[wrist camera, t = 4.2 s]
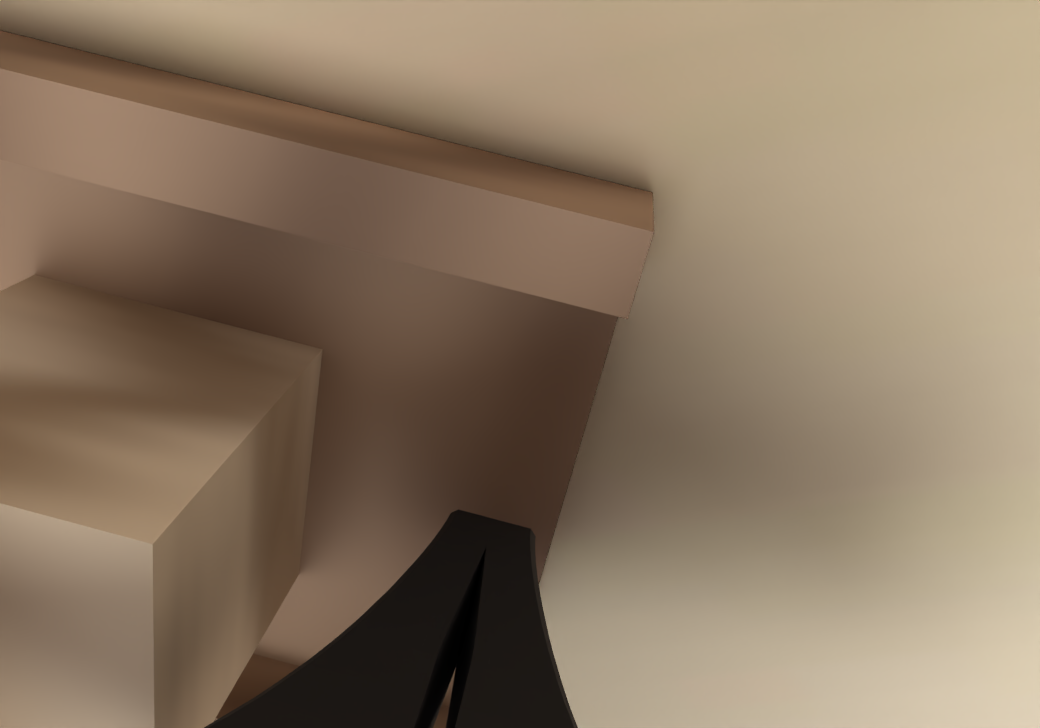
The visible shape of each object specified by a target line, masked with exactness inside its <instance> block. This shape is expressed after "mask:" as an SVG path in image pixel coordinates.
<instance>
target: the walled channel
mask: <svg viewBox="0 0 1040 728" xmlns="http://www.w3.org/2000/svg"><path fill="white" fill-rule="evenodd" d="M653 234H654V216H653V193H652V192H648V191H644V190H640V189H636V188H632V187H628V186H624V185H620V184H616V183H612V182H608V181H604V180H600V179H596V178H592V177H588V176H584V175H580V174H576V173H572V172H568V171H564V170H560V169H556V168H552V167H548V166H543V165H539V164H535V163H531V162H527V161H523V160H519V159H515V158H511V157H507V156H503V155H499V154H495V153H491V152H487V151H483V150H479V149H475V148H471V147H467V146H463V145H459V144H455V143H451V142H447V141H443V140H439V139H435V138H431V137H427V136H423V135H419V134H415V133H411V132H407V131H403V130H399V129H395V128H391V127H387V126H383V125H379V124H375V123H370V122H366V121H362V120H358V119H354V118H350V117H346V116H342V115H338V114H334V113H330V112H326V111H322V110H318V109H314V108H310V107H306V106H302V105H298V104H294V103H290V102H286V101H282V100H278V99H274V98H270V97H266V96H262V95H258V94H254V93H250V92H246V91H242V90H238V89H234V88H230V87H226V86H222V85H218V84H214V83H210V82H206V81H201V80H197V79H193V78H189V77H185V76H181V75H177V74H173V73H169V72H165V71H161V70H157V69H153V68H149V67H145V66H141V65H137V64H133V63H129V62H125V61H121V60H117V59H113V58H109V57H105V56H101V55H97V54H93V53H89V52H85V51H81V50H77V49H73V48H69V47H65V46H61V45H57V44H53V43H49V42H45V41H41V40H37V39H33V38H28V37H24V36H20V35H16V34H12V33H8V32H4V31H0V291H2V290H4V289H6V288H8V287H10V286H12V285H14V284H16V283H18V282H20V281H23V280H25V279H27V278H29V277H31V276H33V275H37V276H41V277H45V278H49V279H53V280H56V281H60V282H64V283H68V284H72V285H76V286H80V287H83V288H87V289H91V290H95V291H99V292H103V293H107V294H111V295H114V296H118V297H122V298H126V299H130V300H134V301H138V302H141V303H145V304H149V305H153V306H157V307H161V308H165V309H168V310H172V311H176V312H180V313H184V314H188V315H192V316H196V317H199V318H203V319H207V320H211V321H215V322H219V323H223V324H226V325H230V326H234V327H238V328H242V329H246V330H250V331H254V332H257V333H261V334H265V335H269V336H273V337H277V338H281V339H284V340H288V341H292V342H296V343H300V344H304V345H308V346H311V347H315V348H319V349H322V359H321V369H320V378H319V388H318V397H317V407H316V416H315V426H314V435H313V445H312V454H311V464H310V473H309V483H308V492H307V502H306V512H305V521H304V531H303V540H302V550H301V559H300V569H299V575H298V577H297V579H296V580H295V582H294V584H293V586H292V587H291V589H290V591H289V593H288V594H287V596H286V598H285V599H284V601H283V603H282V605H281V606H280V608H279V610H278V611H277V613H276V615H275V617H274V618H273V620H272V622H271V623H270V625H269V627H268V629H267V630H266V632H265V634H264V636H263V637H262V639H261V641H260V642H259V644H258V646H257V648H256V649H255V651H254V653H253V654H252V656H251V658H250V660H249V661H248V663H247V665H246V666H245V668H244V670H243V672H242V673H241V675H240V677H239V678H238V680H237V682H236V684H235V685H234V687H233V689H232V691H231V692H230V694H229V696H228V697H227V699H226V701H225V703H224V704H223V706H222V708H221V709H220V711H219V713H218V715H217V716H216V718H215V720H214V721H216V720H217V719H219V718H221V717H222V716H224V715H226V714H227V713H229V712H231V711H232V710H234V709H236V708H237V707H239V706H241V705H242V704H244V703H246V702H247V701H249V700H251V699H253V698H254V697H256V696H257V695H259V694H260V693H262V692H263V691H265V690H266V689H268V688H269V687H271V686H272V685H274V684H275V683H277V682H278V681H280V680H281V679H282V678H284V677H285V676H287V675H288V674H289V673H291V672H292V671H293V670H295V669H296V668H298V667H299V666H300V665H302V664H303V663H305V662H306V661H307V660H309V659H310V658H311V657H313V656H314V655H315V654H317V653H318V652H319V651H320V650H322V649H323V648H324V647H325V646H327V645H328V644H329V643H330V642H332V641H333V640H334V639H335V638H337V637H338V636H339V635H340V634H341V633H342V632H344V631H345V630H346V629H347V628H348V627H349V626H351V625H352V624H353V623H354V622H355V621H356V620H357V619H358V618H360V617H361V616H362V615H363V614H364V613H365V612H366V611H367V610H368V609H369V608H370V607H371V606H372V605H373V604H374V603H375V602H376V601H377V600H378V599H380V598H381V597H382V596H383V595H384V594H385V593H386V592H387V591H388V590H389V589H390V588H391V587H392V586H393V585H394V584H395V583H396V581H397V580H398V579H399V578H400V577H401V576H402V575H403V574H404V573H405V572H406V571H407V569H408V568H409V567H410V566H411V565H412V564H413V563H414V562H415V561H416V560H417V559H418V557H419V556H420V555H421V554H422V552H423V551H424V550H425V549H426V548H427V546H428V545H429V544H430V543H431V541H432V540H433V539H434V538H435V536H436V535H437V533H438V532H439V531H440V529H441V528H442V526H443V525H444V523H445V522H446V520H447V518H448V517H449V515H450V513H452V512H454V511H456V510H458V509H459V510H463V511H467V512H470V513H474V514H478V515H482V516H485V517H489V518H493V519H497V520H500V521H504V522H508V523H512V524H515V525H519V526H523V527H526V528H530V529H531V530H532V531H533V533H534V534H535V536H536V538H535V556H536V568H537V577H538V584H539V582H540V578H541V575H542V572H543V568H544V565H545V562H546V558H547V555H548V552H549V548H550V545H551V541H552V538H553V535H554V531H555V528H556V525H557V521H558V518H559V514H560V511H561V508H562V504H563V501H564V498H565V494H566V491H567V487H568V484H569V481H570V477H571V474H572V471H573V467H574V464H575V460H576V457H577V454H578V450H579V447H580V444H581V440H582V437H583V433H584V430H585V427H586V423H587V420H588V417H589V413H590V410H591V407H592V403H593V400H594V396H595V393H596V390H597V386H598V383H599V380H600V376H601V373H602V369H603V366H604V363H605V359H606V356H607V353H608V349H609V346H610V342H611V339H612V336H613V332H614V329H615V326H616V322H617V319H618V317H622V318H626V319H628V316H629V313H630V310H631V307H632V303H633V300H634V297H635V293H636V290H637V287H638V283H639V280H640V277H641V274H642V270H643V267H644V264H645V260H646V257H647V254H648V250H649V247H650V244H651V241H652V237H653ZM455 670H456V668H455ZM454 676H455V671H454V674H453V676H452V679H451V682H450V684H449V687H448V690H447V692H446V695H445V698H444V700H443V703H442V706H441V708H440V711H439V713H438V716H437V719H436V721H435V724H434V727H433V728H446V723H447V717H448V711H449V705H450V699H451V693H452V687H453V682H454ZM214 721H213V722H214Z"/></svg>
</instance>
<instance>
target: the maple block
mask: <svg viewBox="0 0 1040 728" xmlns="http://www.w3.org/2000/svg"><path fill="white" fill-rule="evenodd" d="M321 359H322V349H319V348H315V347H311V346H308V345H304V344H300V343H296V342H292V341H288V340H284V339H281V338H277V337H273V336H269V335H265V334H261V333H257V332H254V331H250V330H246V329H242V328H238V327H234V326H230V325H226V324H223V323H219V322H215V321H211V320H207V319H203V318H199V317H196V316H192V315H188V314H184V313H180V312H176V311H172V310H168V309H165V308H161V307H157V306H153V305H149V304H145V303H141V302H138V301H134V300H130V299H126V298H122V297H118V296H114V295H111V294H107V293H103V292H99V291H95V290H91V289H87V288H83V287H80V286H76V285H72V284H68V283H64V282H60V281H56V280H53V279H49V278H45V277H41V276H37V275H33V276H31V277H29V278H27V279H25V280H23V281H20V282H18V283H16V284H14V285H12V286H10V287H8V288H6V289H4V290H2V291H0V728H204V727H206V726H207V725H209V724H211V723H212V722H213V721H214V720H215V718H216V716H217V715H218V713H219V711H220V709H221V708H222V706H223V704H224V703H225V701H226V699H227V697H228V696H229V694H230V692H231V691H232V689H233V687H234V685H235V684H236V682H237V680H238V678H239V677H240V675H241V673H242V672H243V670H244V668H245V666H246V665H247V663H248V661H249V660H250V658H251V656H252V654H253V653H254V651H255V649H256V648H257V646H258V644H259V642H260V641H261V639H262V637H263V636H264V634H265V632H266V630H267V629H268V627H269V625H270V623H271V622H272V620H273V618H274V617H275V615H276V613H277V611H278V610H279V608H280V606H281V605H282V603H283V601H284V599H285V598H286V596H287V594H288V593H289V591H290V589H291V587H292V586H293V584H294V582H295V580H296V579H297V577H298V575H299V569H300V559H301V550H302V540H303V531H304V521H305V512H306V502H307V492H308V483H309V473H310V464H311V454H312V445H313V435H314V426H315V416H316V407H317V397H318V388H319V378H320V369H321Z"/></svg>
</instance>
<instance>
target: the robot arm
mask: <svg viewBox="0 0 1040 728" xmlns="http://www.w3.org/2000/svg"><path fill="white" fill-rule="evenodd" d="M535 538H536V536H535V534H534V533H533V531H532V530H531V529H530V528H526V527H523V526H519V525H515V524H512V523H508V522H504V521H500V520H497V519H493V518H489V517H485V516H482V515H478V514H474V513H470V512H467V511H463V510H459V509H458V510H456V511H454V512H452V513H450V515H449V517H448V518H447V520H446V522H445V523H444V525H443V526H442V528H441V529H440V531H439V532H438V533H437V535H436V536H435V538H434V539H433V540H432V541H431V543H430V544H429V545H428V546H427V548H426V549H425V550H424V551H423V552H422V554H421V555H420V556H419V557H418V559H417V560H416V561H415V562H414V563H413V564H412V565H411V566H410V567H409V568H408V569H407V571H406V572H405V573H404V574H403V575H402V576H401V577H400V578H399V579H398V580H397V581H396V583H395V584H394V585H393V586H392V587H391V588H390V589H389V590H388V591H387V592H386V593H385V594H384V595H383V596H382V597H381V598H380V599H378V600H377V601H376V602H375V603H374V604H373V605H372V606H371V607H370V608H369V609H368V610H367V611H366V612H365V613H364V614H363V615H362V616H361V617H360V618H358V619H357V620H356V621H355V622H354V623H353V624H352V625H351V626H349V627H348V628H347V629H346V630H345V631H344V632H342V633H341V634H340V635H339V636H338V637H337V638H335V639H334V640H333V641H332V642H330V643H329V644H328V645H327V646H325V647H324V648H323V649H322V650H320V651H319V652H318V653H317V654H315V655H314V656H313V657H311V658H310V659H309V660H307V661H306V662H305V663H303V664H302V665H300V666H299V667H298V668H296V669H295V670H293V671H292V672H291V673H289V674H288V675H287V676H285V677H284V678H282V679H281V680H280V681H278V682H277V683H275V684H274V685H272V686H271V687H269V688H268V689H266V690H265V691H263V692H262V693H260V694H259V695H257V696H256V697H254V698H253V699H251V700H249V701H247V702H246V703H244V704H242V705H241V706H239V707H237V708H236V709H234V710H232V711H231V712H229V713H227V714H226V715H224V716H222V717H221V718H219V719H217V720H216V721H214V722H212V723H211V724H209V725H207V726H206V727H204V728H433V727H434V724H435V721H436V719H437V716H438V713H439V711H440V708H441V706H442V703H443V700H444V698H445V695H446V692H447V690H448V687H449V684H450V682H451V679H452V676H453V674H454V671H455V676H454V682H453V687H452V693H451V699H450V705H449V711H448V717H447V723H446V728H577V725H576V722H575V720H574V717H573V714H572V712H571V709H570V706H569V703H568V700H567V697H566V694H565V691H564V688H563V685H562V682H561V679H560V675H559V672H558V669H557V665H556V662H555V658H554V655H553V651H552V647H551V643H550V639H549V635H548V630H547V626H546V621H545V617H544V612H543V607H542V602H541V597H540V591H539V584H538V577H537V568H536V556H535ZM455 668H456V670H455Z"/></svg>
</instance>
